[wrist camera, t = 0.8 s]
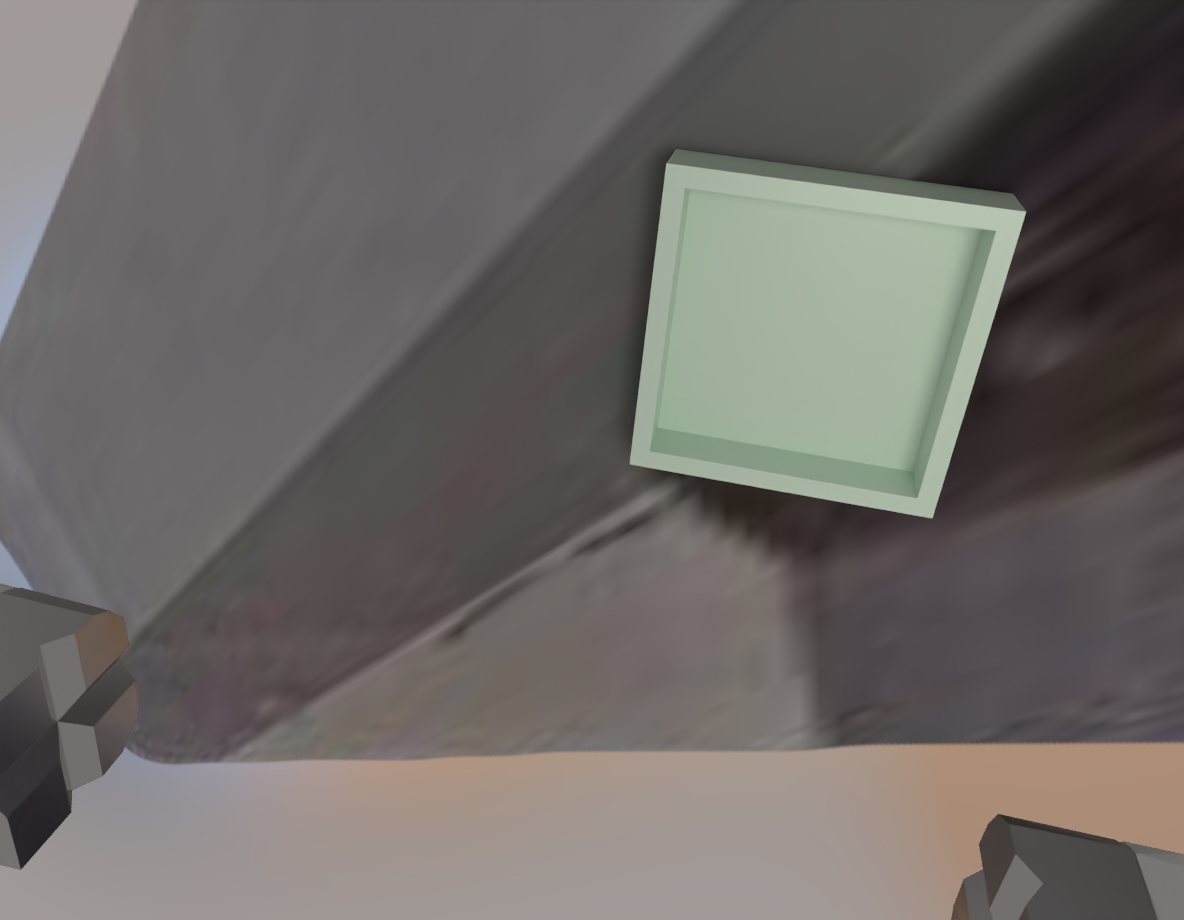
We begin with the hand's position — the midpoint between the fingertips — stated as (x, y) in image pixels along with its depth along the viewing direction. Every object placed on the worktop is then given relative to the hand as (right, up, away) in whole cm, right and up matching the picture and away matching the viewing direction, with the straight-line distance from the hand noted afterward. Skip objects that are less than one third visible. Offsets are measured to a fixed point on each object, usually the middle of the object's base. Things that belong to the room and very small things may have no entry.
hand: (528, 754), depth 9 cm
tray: (+12, +10, +42) cm, 44 cm away
